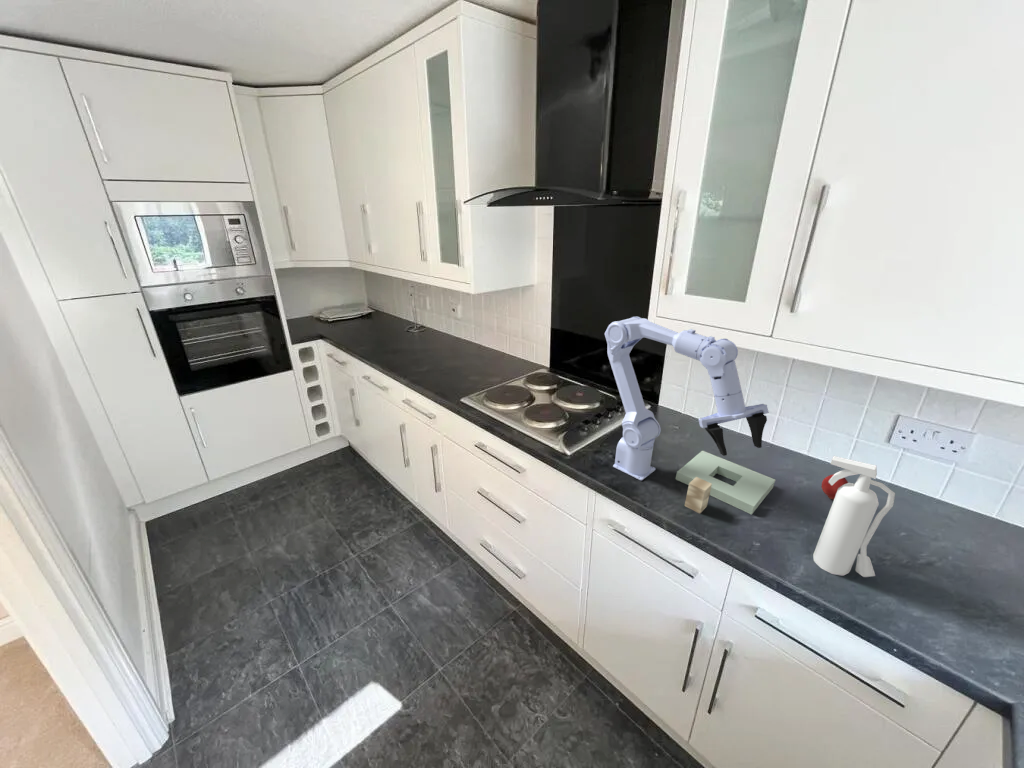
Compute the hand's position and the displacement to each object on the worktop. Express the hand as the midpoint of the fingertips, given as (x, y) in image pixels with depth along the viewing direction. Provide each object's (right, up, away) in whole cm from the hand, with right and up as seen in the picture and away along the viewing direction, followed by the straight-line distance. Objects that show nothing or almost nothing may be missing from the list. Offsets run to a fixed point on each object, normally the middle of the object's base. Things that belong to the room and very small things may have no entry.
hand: (740, 450), depth 96 cm
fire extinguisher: (+17, -24, -6) cm, 30 cm away
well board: (+6, -12, +20) cm, 24 cm away
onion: (+31, -15, +14) cm, 38 cm away
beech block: (-5, -16, +11) cm, 20 cm away
